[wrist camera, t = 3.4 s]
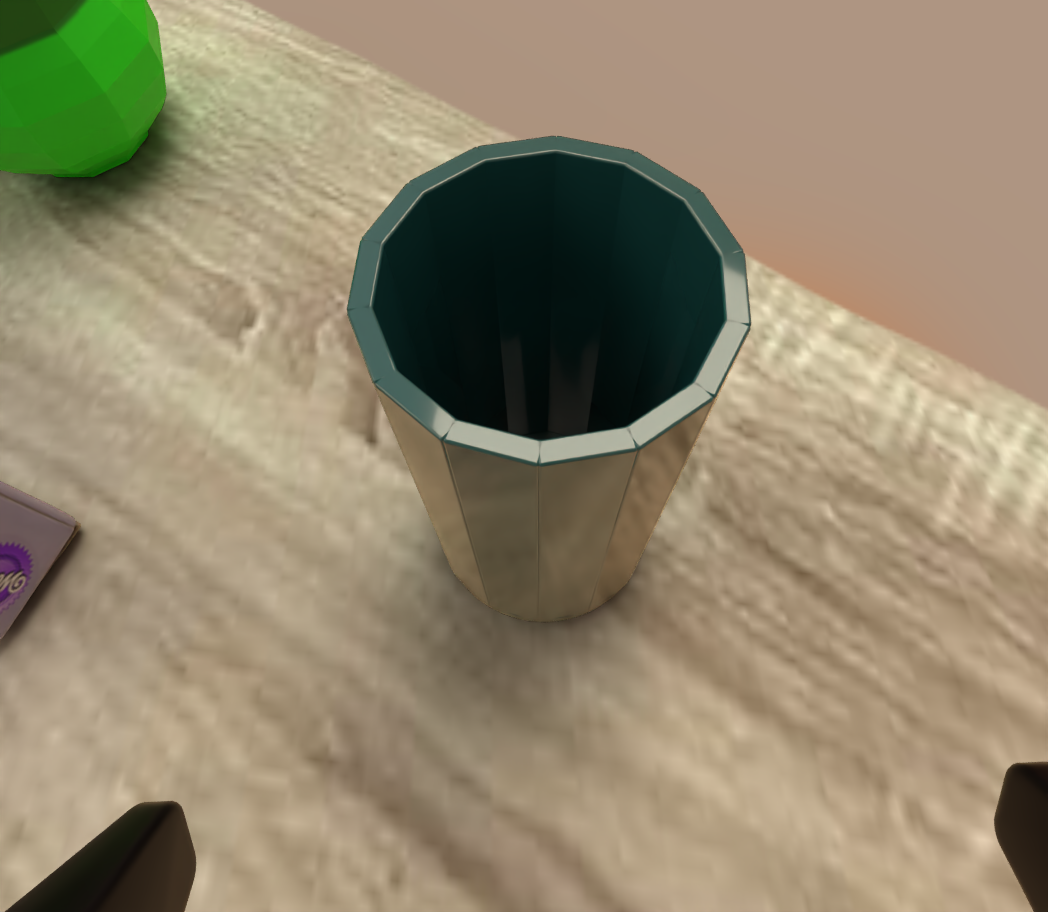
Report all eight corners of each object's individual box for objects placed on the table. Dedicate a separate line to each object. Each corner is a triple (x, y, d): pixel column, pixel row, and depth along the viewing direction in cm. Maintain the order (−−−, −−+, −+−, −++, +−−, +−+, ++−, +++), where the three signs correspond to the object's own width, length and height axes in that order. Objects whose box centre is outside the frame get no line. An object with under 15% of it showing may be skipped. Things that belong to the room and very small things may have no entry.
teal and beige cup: (486, 659, 21) (427, 531, 10) (414, 468, 24) (303, 198, 13) (682, 575, 22) (831, 373, 11) (592, 401, 25) (637, 95, 14)
